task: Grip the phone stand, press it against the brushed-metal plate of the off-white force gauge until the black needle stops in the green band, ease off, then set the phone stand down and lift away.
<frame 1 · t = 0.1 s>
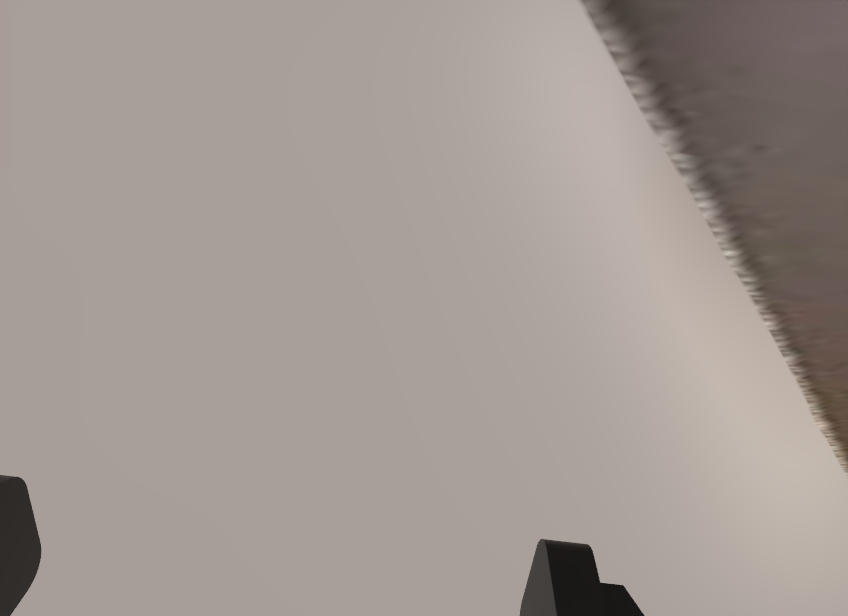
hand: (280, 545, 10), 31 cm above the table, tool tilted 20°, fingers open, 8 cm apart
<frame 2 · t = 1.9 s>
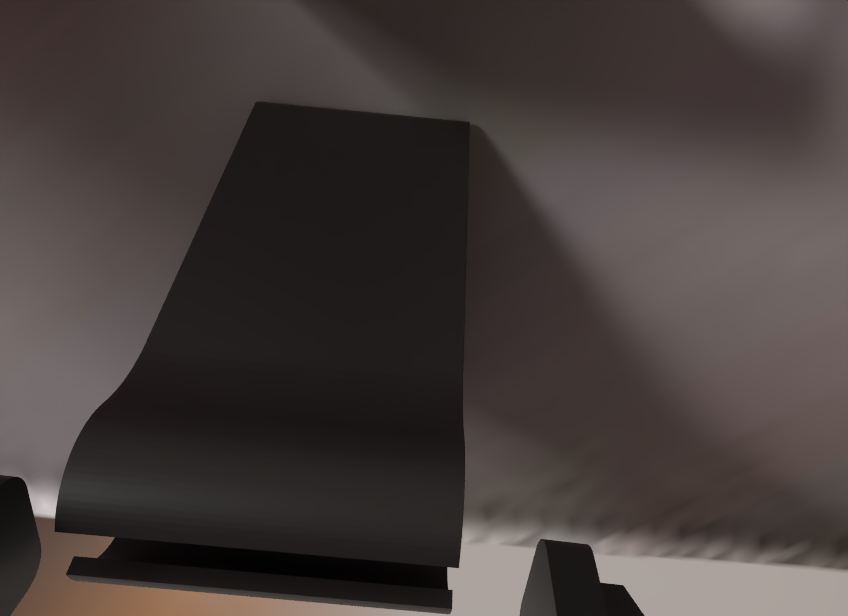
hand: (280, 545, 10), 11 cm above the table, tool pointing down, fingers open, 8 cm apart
phone stand: (359, 252, 20), on the table
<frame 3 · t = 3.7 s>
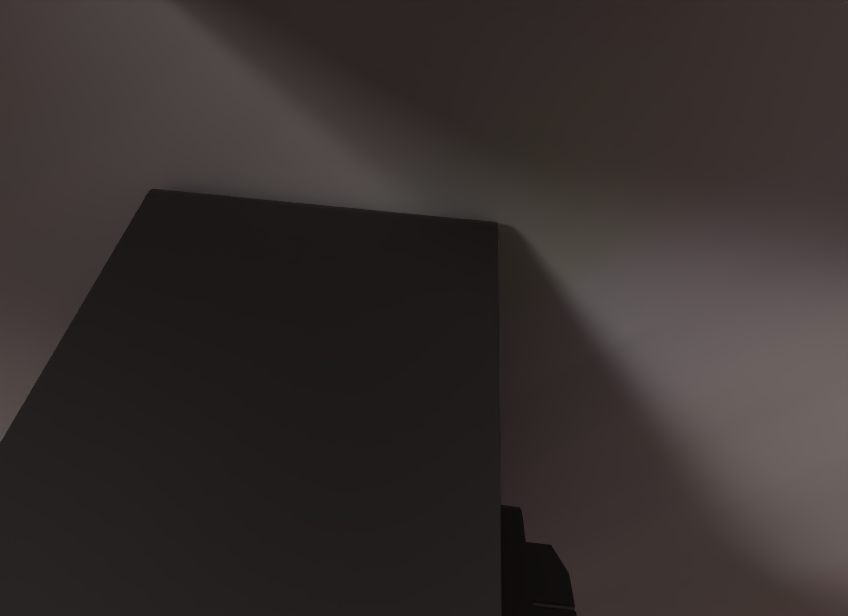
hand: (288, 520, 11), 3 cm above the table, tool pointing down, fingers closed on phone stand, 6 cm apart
phone stand: (326, 400, 14), on the table, touching gripper
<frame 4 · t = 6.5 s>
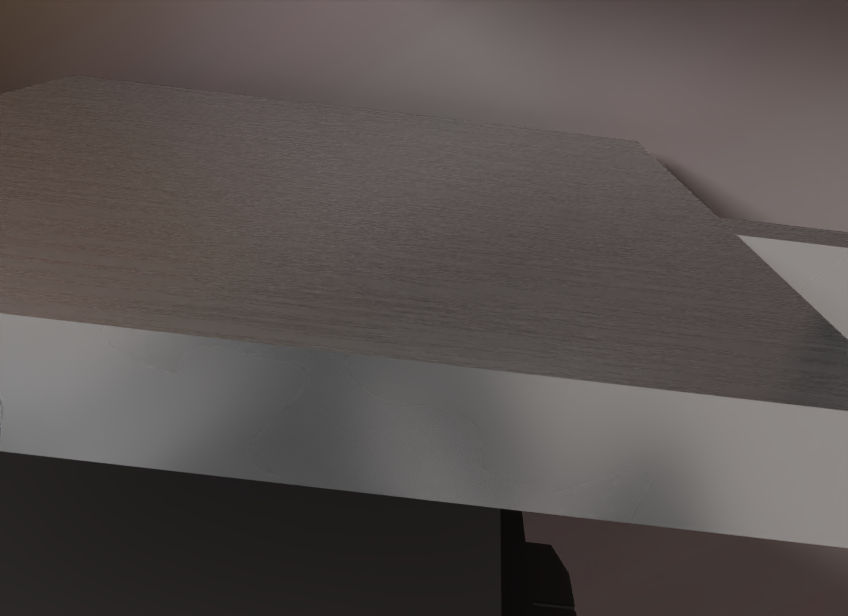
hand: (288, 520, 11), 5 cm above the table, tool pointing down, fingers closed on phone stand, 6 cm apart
phone stand: (326, 400, 14), point 2 cm above the table, touching gripper
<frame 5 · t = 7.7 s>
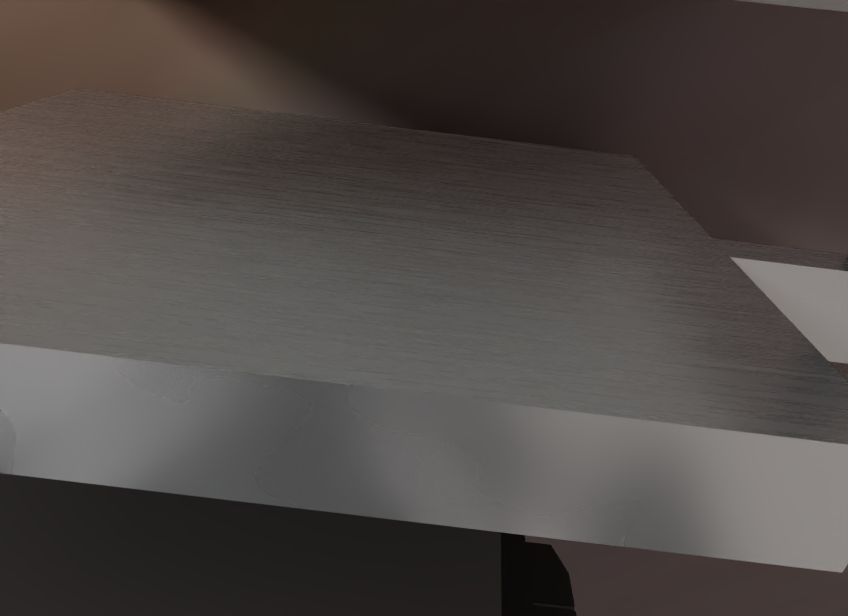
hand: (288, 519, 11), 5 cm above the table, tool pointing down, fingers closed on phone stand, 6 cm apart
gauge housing: (364, 115, 12), on the table
phone stand: (326, 401, 14), point 2 cm above the table, touching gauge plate, gripper
when the fingers open (4 cm above the table, at t = 9.4 s): phone stand stays where it is, on the table.
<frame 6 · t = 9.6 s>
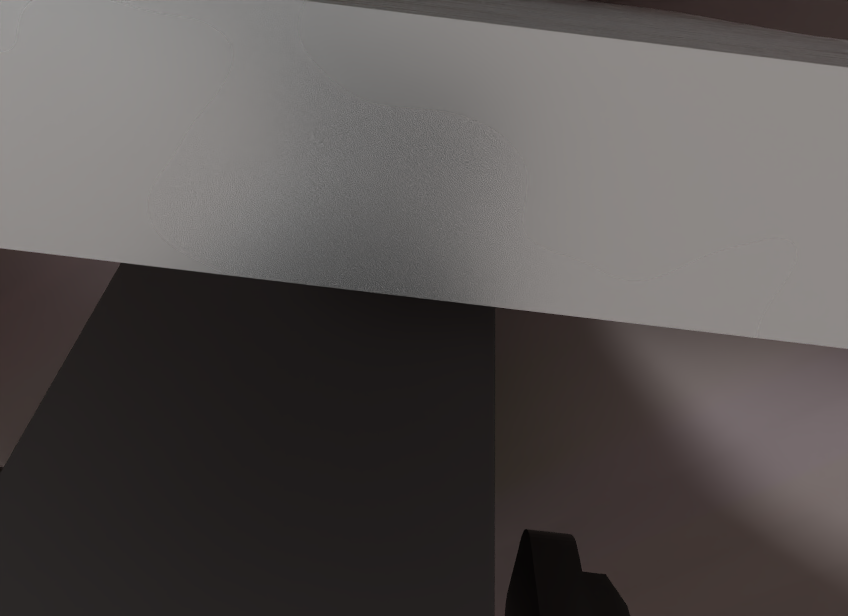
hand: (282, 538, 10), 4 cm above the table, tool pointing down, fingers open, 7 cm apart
phone stand: (332, 375, 14), on the table
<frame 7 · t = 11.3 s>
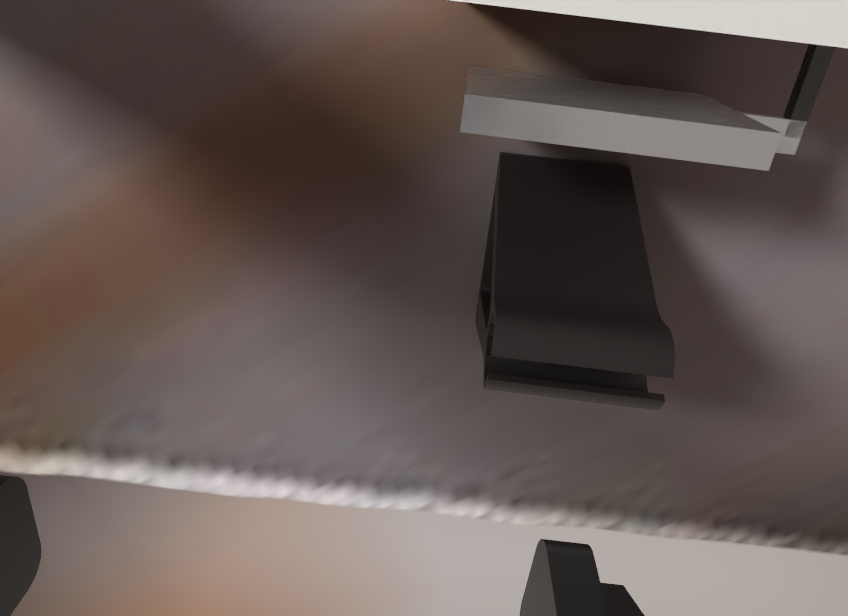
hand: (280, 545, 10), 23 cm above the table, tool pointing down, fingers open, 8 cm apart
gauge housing: (582, 78, 28), on the table
phone stand: (546, 245, 32), on the table
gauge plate: (654, 7, 22), point 5 cm above the table, slide at 3.9 cm
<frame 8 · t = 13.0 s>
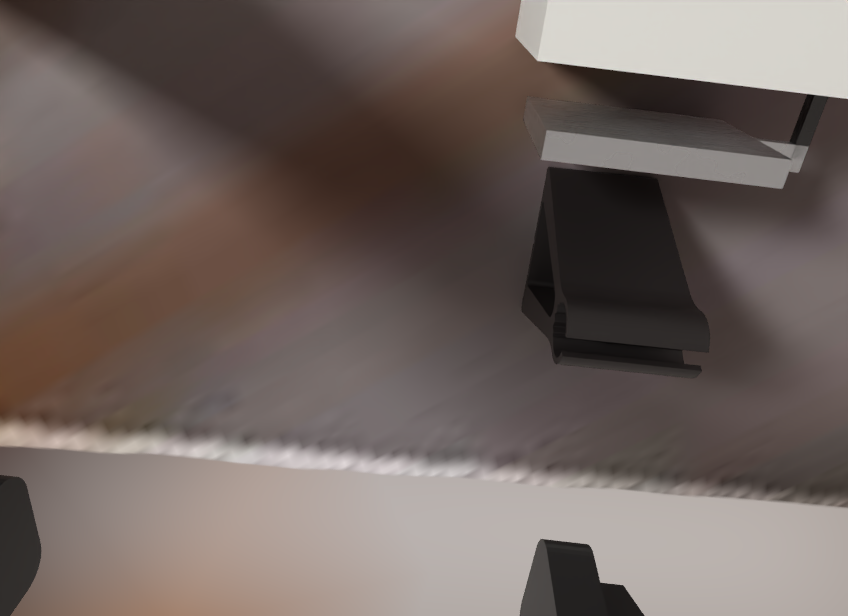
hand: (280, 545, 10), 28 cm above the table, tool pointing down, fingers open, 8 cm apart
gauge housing: (619, 105, 34), on the table
phone stand: (583, 244, 38), on the table
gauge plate: (689, 56, 28), point 5 cm above the table, slide at 3.9 cm
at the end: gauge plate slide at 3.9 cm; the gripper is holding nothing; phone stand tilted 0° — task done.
